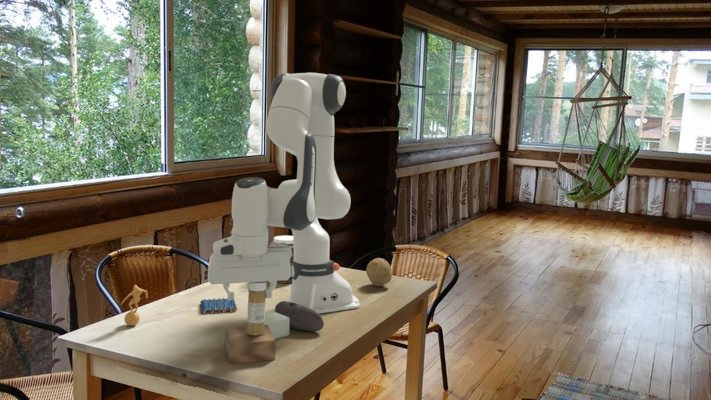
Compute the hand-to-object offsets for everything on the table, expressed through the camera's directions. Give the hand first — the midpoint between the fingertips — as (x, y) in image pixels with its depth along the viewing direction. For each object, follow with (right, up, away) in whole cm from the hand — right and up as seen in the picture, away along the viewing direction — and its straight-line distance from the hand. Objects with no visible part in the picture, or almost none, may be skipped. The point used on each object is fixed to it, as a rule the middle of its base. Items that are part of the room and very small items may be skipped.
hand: (249, 298), depth 157 cm
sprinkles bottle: (+1, -9, +2) cm, 9 cm away
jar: (+1, -4, +69) cm, 69 cm away
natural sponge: (+34, -6, +64) cm, 73 cm away
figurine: (-35, -11, +18) cm, 41 cm away
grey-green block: (+3, -12, +15) cm, 20 cm away
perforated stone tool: (+11, -12, +20) cm, 26 cm away
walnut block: (0, -14, +2) cm, 14 cm away
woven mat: (-15, -9, +36) cm, 40 cm away
